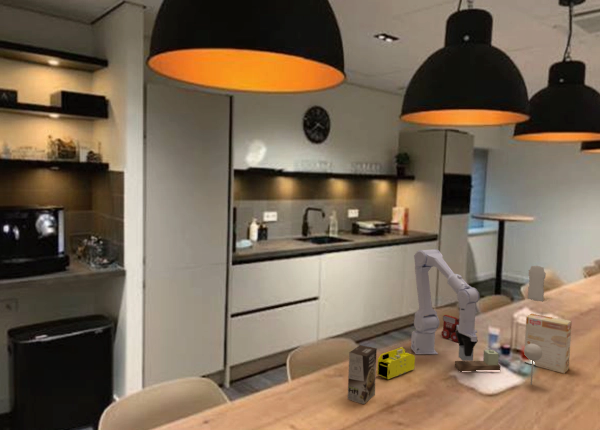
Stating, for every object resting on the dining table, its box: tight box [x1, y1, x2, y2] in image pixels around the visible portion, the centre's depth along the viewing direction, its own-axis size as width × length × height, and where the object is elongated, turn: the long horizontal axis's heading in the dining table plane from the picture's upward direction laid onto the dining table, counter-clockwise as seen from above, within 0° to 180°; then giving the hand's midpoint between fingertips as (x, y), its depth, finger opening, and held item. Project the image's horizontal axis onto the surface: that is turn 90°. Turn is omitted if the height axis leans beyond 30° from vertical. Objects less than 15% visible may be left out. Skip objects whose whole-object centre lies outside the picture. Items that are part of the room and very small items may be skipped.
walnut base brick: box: [454, 360, 501, 373], centre depth 179 cm, size 16×5×2 cm, turn 93°
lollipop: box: [523, 344, 542, 385], centre depth 166 cm, size 6×6×15 cm
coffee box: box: [347, 344, 377, 405], centre depth 153 cm, size 9×6×16 cm
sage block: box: [482, 349, 499, 365], centre depth 179 cm, size 4×4×5 cm
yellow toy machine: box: [376, 346, 416, 380], centre depth 173 cm, size 16×6×8 cm, turn 130°
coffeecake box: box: [523, 313, 572, 374], centre depth 183 cm, size 15×7×20 cm, turn 47°
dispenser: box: [527, 265, 547, 302], centre depth 293 cm, size 11×4×22 cm, turn 38°
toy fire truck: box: [440, 314, 459, 343], centre depth 214 cm, size 7×12×10 cm, turn 38°
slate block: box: [458, 345, 475, 361], centre depth 178 cm, size 4×4×5 cm
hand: (465, 353), depth 178 cm, fingers closed on slate block, 4 cm apart
